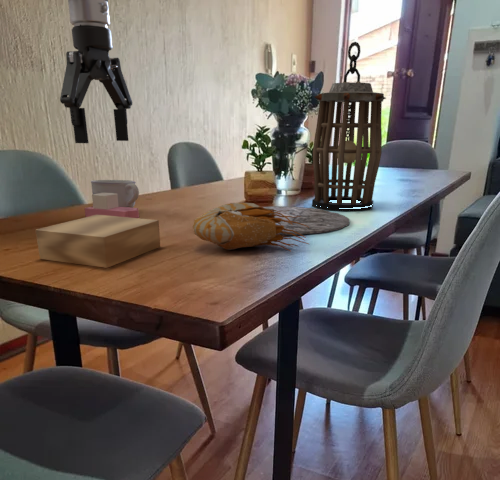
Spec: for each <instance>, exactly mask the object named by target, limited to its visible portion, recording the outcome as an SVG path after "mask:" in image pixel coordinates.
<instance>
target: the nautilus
mask: <svg viewBox="0 0 500 480" xmlns="http://www.w3.org/2000/svg"><path fill="white" fill-rule="evenodd" d="M265 207H266V206H260V205H258V204H256V203H253V202H230V203H226V204H223V205H220V206H218V207H215V208H212V209H210V210H208V211H206V212H205V213H202V214H201V215H200V216H197V217H196V218H195V219H193V224H192V229H193V232H194V233H193V234H194V235H195V236H196V237H198V238H199V239H201V240H202V241H204V242H205V241H206V242H209V243H212V244H215V245H216V246H219V247H220V248H223V249H224V250H227V251H232V250H236V249H240V248H249V247H253V248H254V247H259V246H273V247H275V246H276V247H280V248H282V249H284V250H286V251H289V252H291V250H290V249H289V248H287V247H286V246H289V247H292V248H294V246H295V247H299V245H298V244H294V243H286V242H284V241H283V240H293V241H295V242H299V243H302V244H306V245H310V244H311V243H308V242H305V241H306V240H305V239H307V238H306V236H305V235H301V234H299V233H297V232H295V231H293V230H289V229H285V228H284V226H283V225H281V224H280V223H278V224H280V225H281V226H279V225H276V223H277V222H282V221H283V222H288V223H290V224H292V223H297V222H293V221H290V220H289V219H288V218H287V217H292V216H284V215H283V214H281V213H278V212H280V211H277V212H274V211H276V210H274V209H271V208H265ZM287 211H289V210H287ZM276 213H277V214H281V215H282V216H280V215H277V214H276ZM275 216H280V217H285V218H286V219H288V220H289V221H285V220H282V218H275ZM297 217H301V216H297ZM293 218H295V217H293ZM291 222H292V223H291ZM297 224H301V223H297ZM292 225H293V224H292ZM301 225H304V224H301ZM304 226H306V225H304ZM307 227H308V226H307ZM308 228H309V227H308ZM282 230H286V231H293V232H295V233H297V234H299V235H294V234H292V233H289V232H283V231H282ZM280 232H281V233H286V234H292V235H291V236H289V237H288V236H282V235H280V234H278V233H280ZM276 234H278V235H276ZM292 236H294V237H295V238H292ZM302 237H303V238H302ZM296 238H298V239H296ZM304 238H305V239H304ZM299 239H300V240H299ZM302 240H303V241H302ZM278 243H280V244H282V245H280V244H278ZM284 245H285V246H284Z"/></svg>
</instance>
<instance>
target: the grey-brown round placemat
mask: <svg viewBox="0 0 500 480" xmlns="http://www.w3.org/2000/svg"><path fill="white" fill-rule="evenodd" d="M264 207H265V208H271V209H274V210H276V211H274V212H277V211H280V212H278V213H281V214H283V215H284V216H292V217H287V218H288V219H289V220H290V221H293V222H297V223H301V224H304V225H306V226H304V225H301V224H297V223H292V222H291V223H292V224H293V225H292V224H290V223H288V222H283V221H282V222H277V223H276V225H279V226H281V225H283V226H284V228H285V229H289V230H293V231H295V232H297V233H299V234H301V235H303V236H305V235H313V234H314V235H315V234H323V233H329V232H333V231H338V230H340V229H343V228H345V227H347V226H349V225H350V222H351V221H350V219H349V218H348V217H347V216H345V215H343V214H341V213H338V212H335V211H329V210H322V209H317V208H315V207H313V208H312V207H301V206H285V205H284V206H283V205H282V206H281V205H280V206H278V205H277V206H275V205H273V206H264ZM287 210H289V211H287ZM276 214H277V213H276ZM281 214H277V215H280V216H282V215H281ZM280 216H275V218H282V220H285V221H289V220H288V219H286V218H285V217H280ZM297 216H301V217H297ZM293 217H295V218H293ZM278 223H280V224H281V225H280V224H278ZM307 226H308V227H309V228H308V227H307ZM282 231H283V232H289V233H292V234H294V235H296V236H301V235H299V234H297V233H295V232H293V231H286V230H282ZM278 234H280V235H282V236H287V237H292V236H294V235H292V234H286V233H281V232H280V233H278ZM278 234H276V235H278Z"/></svg>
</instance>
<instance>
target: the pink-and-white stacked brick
mask: <svg viewBox="0 0 500 480" xmlns="http://www.w3.org/2000/svg"><path fill="white" fill-rule="evenodd" d="M91 201H92V206H88V207H84V215H85V217H89V216H93V215H107V216H118V217H129V218H140V213H139V208H138V207H133V208H129V207H118V196H117V194H116V193H98V194H93V195H92V194H91Z"/></svg>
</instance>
